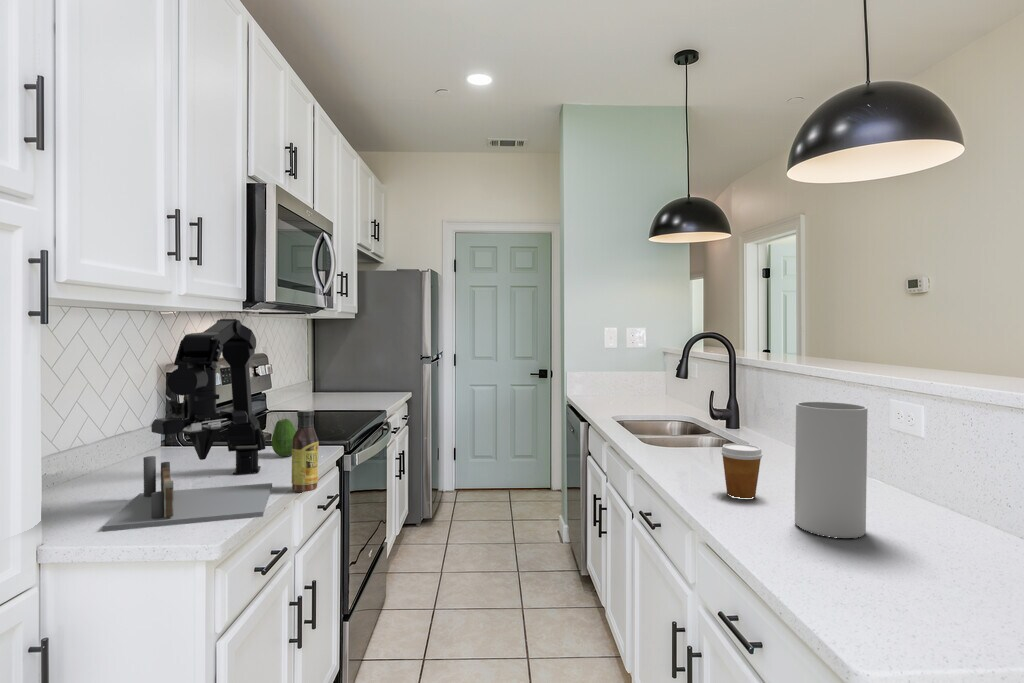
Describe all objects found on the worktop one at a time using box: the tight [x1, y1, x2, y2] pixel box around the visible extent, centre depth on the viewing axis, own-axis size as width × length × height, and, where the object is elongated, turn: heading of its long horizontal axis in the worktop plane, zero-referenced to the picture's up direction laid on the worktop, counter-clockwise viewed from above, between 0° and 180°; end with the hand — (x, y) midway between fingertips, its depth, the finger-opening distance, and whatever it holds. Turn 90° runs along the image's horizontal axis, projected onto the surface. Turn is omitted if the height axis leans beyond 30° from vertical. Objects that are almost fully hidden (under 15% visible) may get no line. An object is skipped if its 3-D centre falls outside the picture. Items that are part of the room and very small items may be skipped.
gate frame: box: [102, 455, 273, 532], centre depth 127 cm, size 24×29×10 cm
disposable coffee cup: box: [720, 443, 764, 498], centre depth 136 cm, size 10×10×12 cm
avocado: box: [270, 418, 297, 457], centre depth 177 cm, size 8×8×12 cm
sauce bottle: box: [291, 409, 320, 493], centre depth 140 cm, size 7×6×20 cm
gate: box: [160, 461, 174, 518], centre depth 124 cm, size 22×2×7 cm, turn 33°
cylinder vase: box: [794, 401, 868, 539], centre depth 113 cm, size 12×12×25 cm
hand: (202, 459), depth 126 cm, fingers closed
